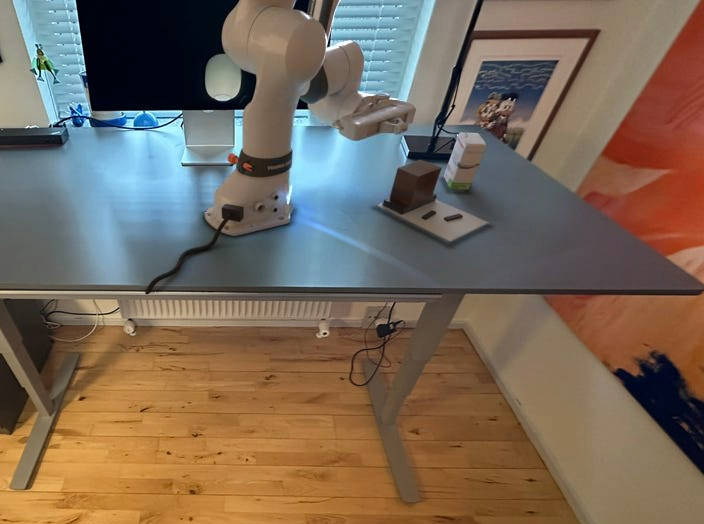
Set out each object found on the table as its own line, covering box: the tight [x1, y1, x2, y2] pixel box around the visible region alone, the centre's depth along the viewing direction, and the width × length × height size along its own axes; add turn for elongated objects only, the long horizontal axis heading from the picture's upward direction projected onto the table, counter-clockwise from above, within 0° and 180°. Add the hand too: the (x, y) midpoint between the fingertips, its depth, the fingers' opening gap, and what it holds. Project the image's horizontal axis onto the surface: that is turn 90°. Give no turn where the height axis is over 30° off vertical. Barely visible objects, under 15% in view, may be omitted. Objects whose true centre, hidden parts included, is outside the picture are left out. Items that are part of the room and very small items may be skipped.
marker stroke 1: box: [422, 210, 436, 220], centre depth 96 cm, size 4×1×1 cm, turn 131°
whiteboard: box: [376, 198, 490, 243], centre depth 98 cm, size 14×21×1 cm, turn 33°
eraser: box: [382, 159, 443, 215], centre depth 98 cm, size 12×6×8 cm, turn 123°
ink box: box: [443, 131, 488, 191], centre depth 104 cm, size 9×5×12 cm, turn 171°
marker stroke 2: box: [444, 214, 463, 221], centre depth 95 cm, size 4×1×1 cm, turn 111°
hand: (403, 129), depth 94 cm, fingers closed
